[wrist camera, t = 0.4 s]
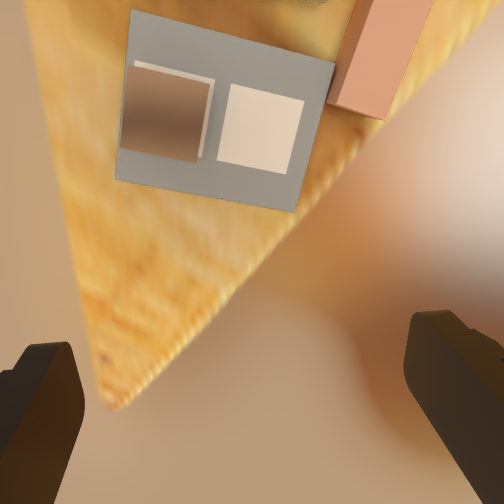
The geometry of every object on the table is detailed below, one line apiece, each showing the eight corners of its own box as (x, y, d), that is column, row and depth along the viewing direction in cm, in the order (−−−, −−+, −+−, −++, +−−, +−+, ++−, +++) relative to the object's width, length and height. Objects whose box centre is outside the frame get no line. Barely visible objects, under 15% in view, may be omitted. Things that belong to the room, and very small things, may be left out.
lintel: (381, -72, 28) (407, -95, 24) (429, -50, 29) (462, -69, 25) (320, 101, 32) (336, 104, 29) (364, 116, 33) (384, 120, 29)
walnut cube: (139, 67, 28) (127, 64, 24) (208, 83, 29) (209, 84, 25) (132, 137, 30) (119, 147, 26) (197, 151, 31) (196, 163, 27)
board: (133, 11, 28) (130, 8, 27) (330, 63, 31) (335, 63, 30) (117, 176, 32) (114, 179, 31) (291, 208, 35) (294, 213, 34)
